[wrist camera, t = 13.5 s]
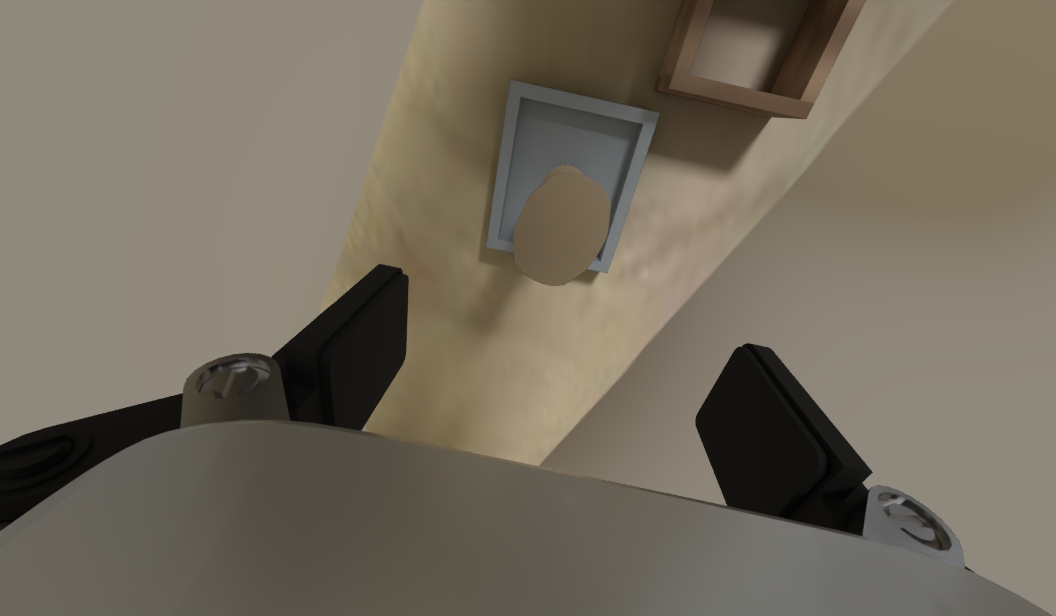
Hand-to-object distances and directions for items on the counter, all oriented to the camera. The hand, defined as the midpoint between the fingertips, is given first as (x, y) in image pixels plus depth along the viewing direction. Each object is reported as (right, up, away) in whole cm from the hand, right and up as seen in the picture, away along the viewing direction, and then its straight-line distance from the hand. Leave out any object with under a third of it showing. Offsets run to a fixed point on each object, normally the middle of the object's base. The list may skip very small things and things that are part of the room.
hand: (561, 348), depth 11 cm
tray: (+2, +13, +24) cm, 27 cm away
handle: (+2, +13, +23) cm, 27 cm away
